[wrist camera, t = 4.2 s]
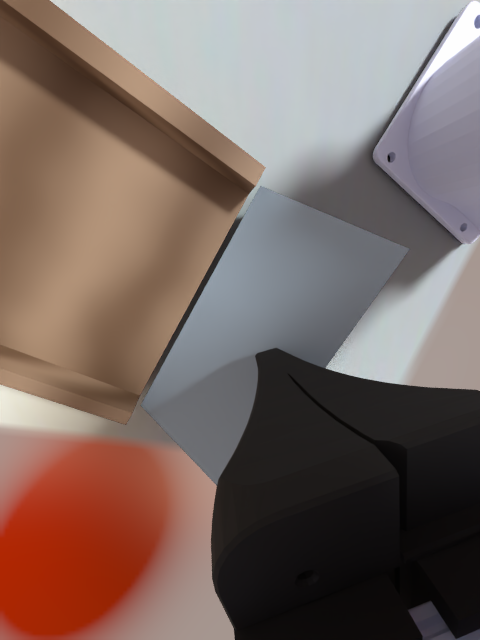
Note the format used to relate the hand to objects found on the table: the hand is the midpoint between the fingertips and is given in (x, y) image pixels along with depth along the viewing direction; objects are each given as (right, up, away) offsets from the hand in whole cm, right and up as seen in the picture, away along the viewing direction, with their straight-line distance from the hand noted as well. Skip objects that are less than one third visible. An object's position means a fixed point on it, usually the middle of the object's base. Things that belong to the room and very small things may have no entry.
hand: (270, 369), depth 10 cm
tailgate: (-4, +3, +2) cm, 5 cm away
